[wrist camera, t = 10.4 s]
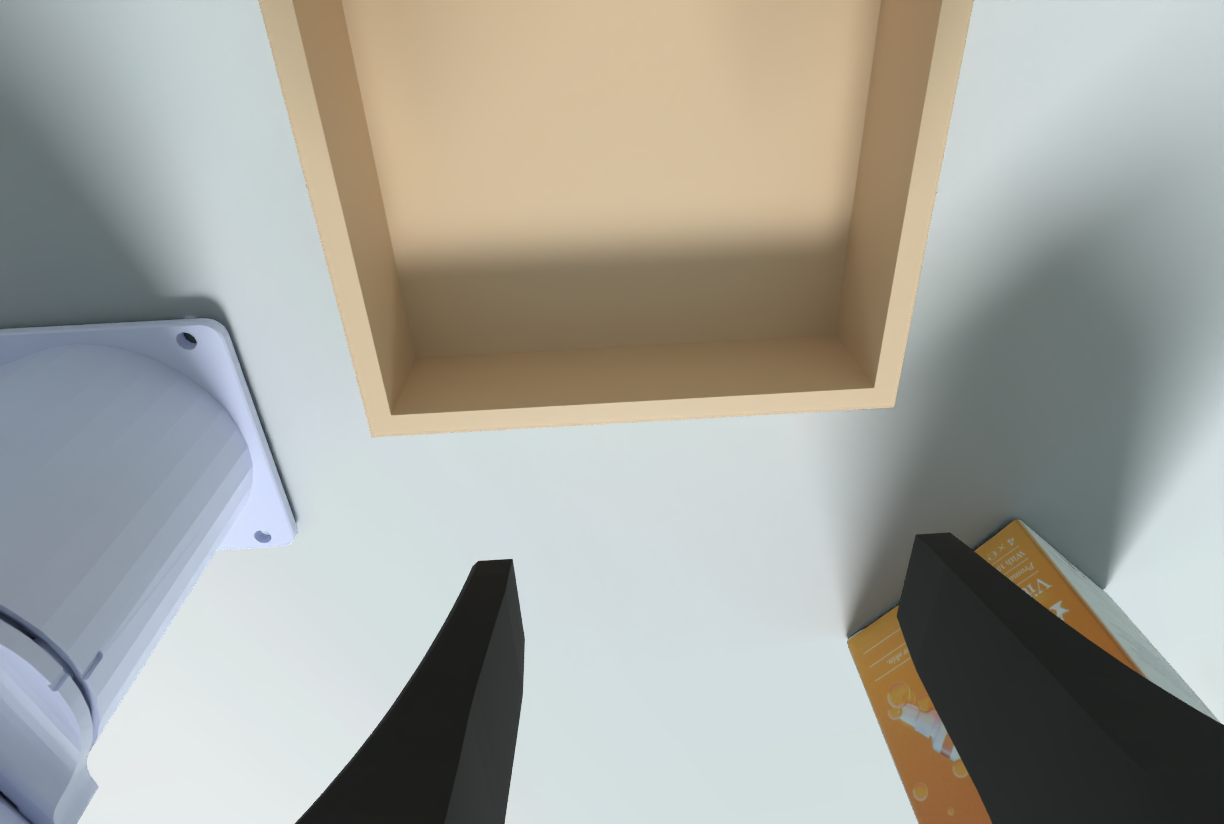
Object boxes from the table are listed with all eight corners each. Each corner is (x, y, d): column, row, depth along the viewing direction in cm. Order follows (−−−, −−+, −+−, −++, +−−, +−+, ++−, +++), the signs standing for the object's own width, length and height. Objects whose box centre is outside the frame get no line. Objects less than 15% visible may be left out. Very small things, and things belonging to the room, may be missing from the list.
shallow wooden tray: (401, 371, 21) (371, 437, 18) (284, -159, 14) (207, -196, 11) (848, 346, 21) (894, 407, 18) (928, -187, 15) (1018, -230, 12)
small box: (1014, 511, 25) (1376, 948, 13) (1108, 591, 27) (1484, 1020, 16) (837, 639, 28) (1014, 1082, 17) (936, 701, 30) (1148, 1126, 19)
